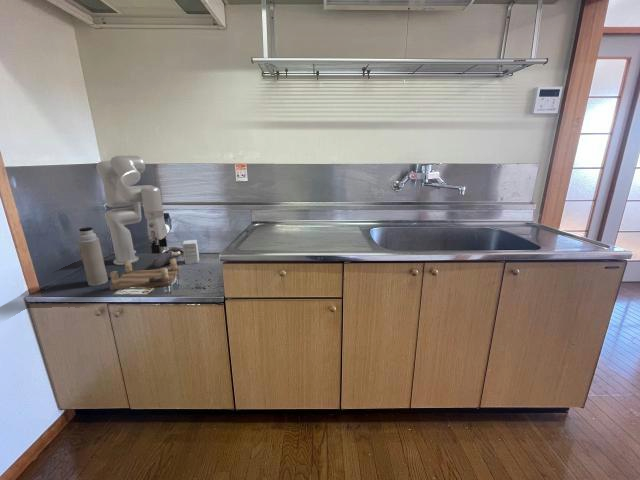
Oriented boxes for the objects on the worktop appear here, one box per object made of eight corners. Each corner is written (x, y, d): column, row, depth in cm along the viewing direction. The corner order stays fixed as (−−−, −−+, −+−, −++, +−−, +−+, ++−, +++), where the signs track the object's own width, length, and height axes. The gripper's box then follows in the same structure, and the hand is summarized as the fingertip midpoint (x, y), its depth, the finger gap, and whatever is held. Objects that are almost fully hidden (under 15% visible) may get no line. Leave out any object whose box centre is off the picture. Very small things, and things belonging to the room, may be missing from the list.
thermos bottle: (85, 286, 137) (71, 230, 129) (91, 280, 144) (78, 226, 136) (105, 284, 139) (92, 229, 131) (110, 278, 147) (98, 225, 139)
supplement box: (186, 260, 172) (183, 240, 169) (199, 259, 174) (197, 239, 171) (184, 264, 166) (181, 243, 162) (198, 263, 168) (195, 242, 164)
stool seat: (127, 274, 151) (124, 260, 149) (179, 271, 155) (177, 257, 153) (110, 289, 134) (106, 274, 132) (169, 285, 138) (166, 270, 136)
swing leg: (148, 282, 137) (146, 271, 135) (150, 279, 140) (148, 268, 138) (167, 281, 138) (165, 269, 136) (170, 278, 141) (168, 267, 139)
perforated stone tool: (159, 269, 158) (157, 258, 156) (150, 269, 159) (148, 257, 157) (176, 260, 172) (175, 249, 170) (168, 259, 173) (167, 249, 171)
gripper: (156, 218, 122) (162, 255, 127) (169, 210, 138) (174, 244, 143) (137, 218, 121) (143, 256, 126) (152, 211, 137) (158, 244, 142)
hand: (160, 249), depth 134 cm, fingers open, 9 cm apart
